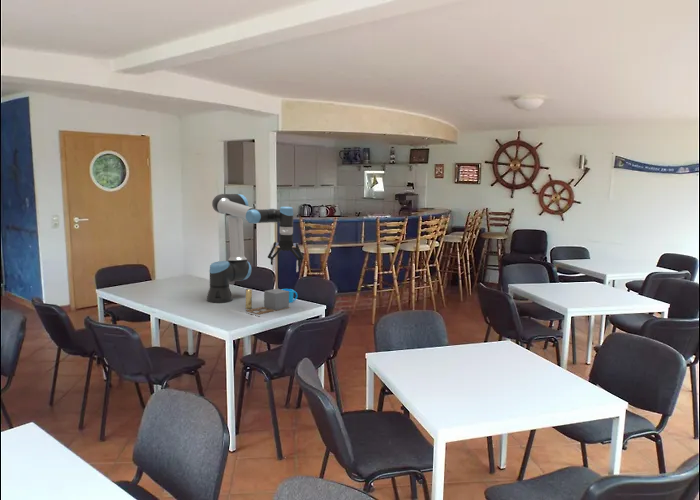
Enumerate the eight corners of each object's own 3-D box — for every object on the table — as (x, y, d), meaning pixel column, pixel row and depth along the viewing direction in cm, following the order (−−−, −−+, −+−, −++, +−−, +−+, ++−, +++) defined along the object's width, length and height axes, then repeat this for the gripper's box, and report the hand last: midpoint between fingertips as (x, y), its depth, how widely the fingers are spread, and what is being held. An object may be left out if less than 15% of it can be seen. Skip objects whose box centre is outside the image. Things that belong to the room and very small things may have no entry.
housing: (264, 307, 301) (264, 291, 299) (276, 304, 308) (277, 288, 307) (275, 310, 294) (276, 293, 293) (288, 307, 302) (289, 291, 301)
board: (261, 309, 301) (261, 302, 300) (276, 306, 310) (277, 299, 309) (275, 313, 293) (275, 305, 293) (291, 309, 302) (291, 302, 302)
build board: (245, 313, 291) (245, 310, 291) (260, 309, 300) (260, 307, 299) (258, 316, 284) (258, 313, 284) (273, 313, 293) (273, 310, 292)
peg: (244, 310, 297) (244, 289, 295) (248, 309, 299) (249, 288, 298) (248, 311, 295) (248, 290, 293) (252, 310, 297) (253, 289, 296)
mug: (284, 305, 312) (284, 292, 311) (277, 302, 318) (277, 289, 317) (301, 303, 320) (301, 290, 319) (293, 300, 326) (293, 287, 325)
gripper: (262, 233, 292) (262, 271, 294) (307, 235, 291) (306, 273, 294) (265, 232, 299) (264, 269, 302) (308, 234, 298) (308, 270, 301)
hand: (285, 271), depth 298 cm, fingers open, 13 cm apart
